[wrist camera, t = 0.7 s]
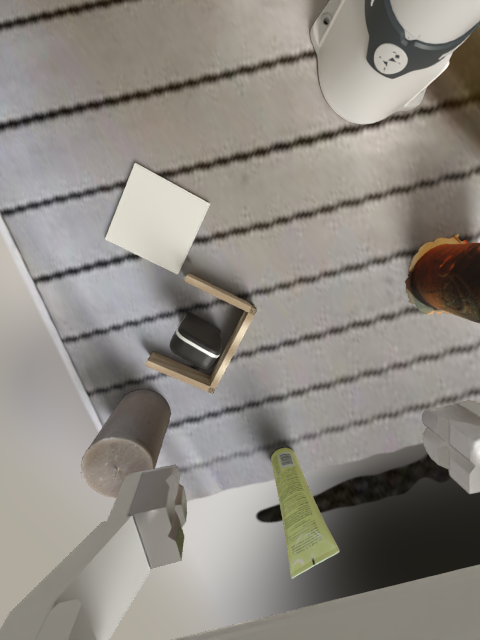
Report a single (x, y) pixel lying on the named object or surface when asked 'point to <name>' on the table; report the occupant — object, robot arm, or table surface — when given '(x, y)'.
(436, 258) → the vessel
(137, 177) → the mat
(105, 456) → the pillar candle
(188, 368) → the bay
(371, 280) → the table surface
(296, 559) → the tube
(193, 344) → the battery charger
